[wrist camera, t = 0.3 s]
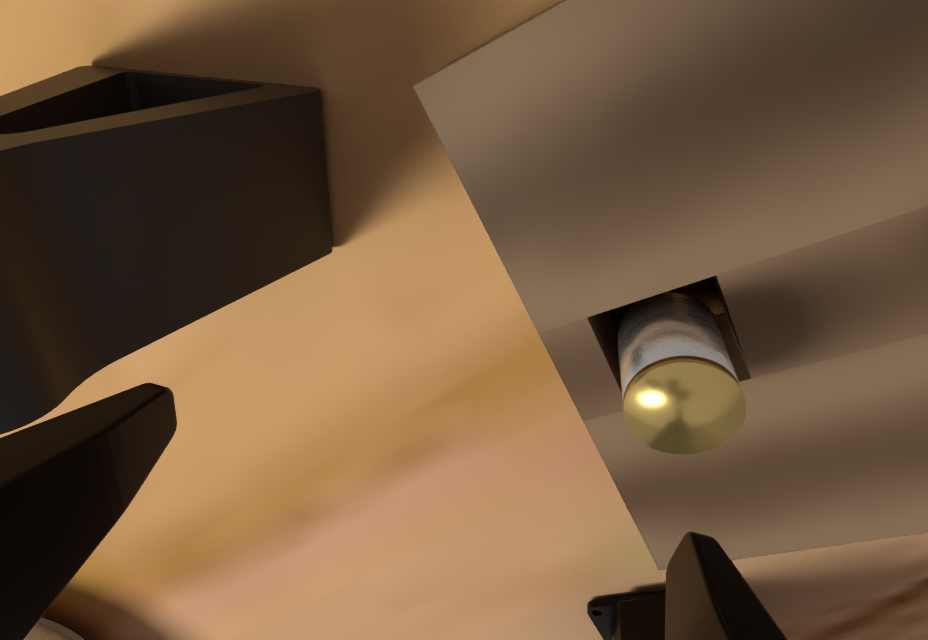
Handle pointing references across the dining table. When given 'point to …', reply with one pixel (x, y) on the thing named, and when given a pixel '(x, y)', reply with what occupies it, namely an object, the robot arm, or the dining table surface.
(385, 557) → the dining table surface
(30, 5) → the dining table surface
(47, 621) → the cereal bowl
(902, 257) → the walnut block
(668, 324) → the brass capped peg
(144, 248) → the phone stand
